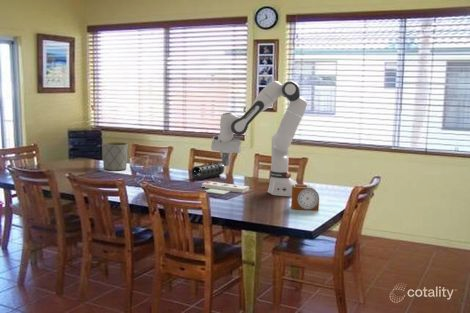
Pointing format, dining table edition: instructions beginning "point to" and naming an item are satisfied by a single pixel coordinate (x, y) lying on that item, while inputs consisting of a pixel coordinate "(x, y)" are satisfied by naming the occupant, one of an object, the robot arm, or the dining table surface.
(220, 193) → the mat
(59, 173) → the dining table surface
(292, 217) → the dining table surface
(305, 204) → the alarm clock
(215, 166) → the muzzle brake
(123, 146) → the planter
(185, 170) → the dining table surface
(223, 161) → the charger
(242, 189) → the socket bar
